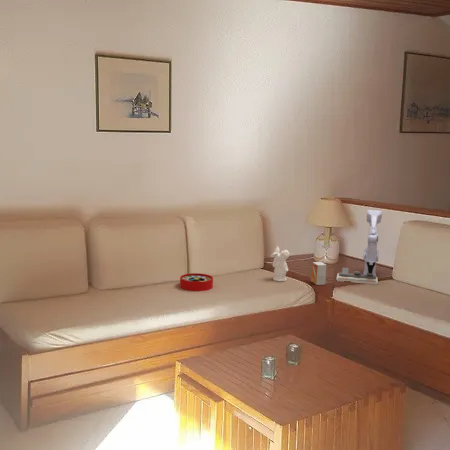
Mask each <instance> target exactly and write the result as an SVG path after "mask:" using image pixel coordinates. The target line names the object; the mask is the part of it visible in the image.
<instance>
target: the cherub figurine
mask: <svg viewBox="0 0 450 450" xmlns="http://www.w3.org/2000/svg"><path fill="white" fill-rule="evenodd" d="M290 255H291V254H290V252H289V250H287V249H284V250H282V251H281V252H280V247H279V246H278V245H277V244H276V245H275V248H274V251H273V253H271V254H270V257H271V258H273V262H272V267H273V268H274V269H273V273H274V277H273V278H272V280H273V281H275V282H287V279H288V278H286V274H287V272H289V267H288V264H287V261H286V260H287V259H288V258H289V257H290Z"/></svg>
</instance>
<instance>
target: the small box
mask: <svg viewBox="0 0 450 450" xmlns="http://www.w3.org/2000/svg"><path fill="white" fill-rule="evenodd" d="M326 278H327V264H326V263H324V262H322V261H313V262H312V264H311V278H310V282H311V283H313V284H315V286H321V285H322V286H323V285H326Z"/></svg>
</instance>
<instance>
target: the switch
mask: <svg viewBox="0 0 450 450" xmlns="http://www.w3.org/2000/svg"><path fill="white" fill-rule="evenodd" d="M341 273H342V275H347V276H348V273H349V267H342V268H341Z"/></svg>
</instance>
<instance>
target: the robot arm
mask: <svg viewBox="0 0 450 450" xmlns="http://www.w3.org/2000/svg"><path fill="white" fill-rule="evenodd" d="M382 215H383V211H382V210H381V209H379V210H377V209H376V210H375V209H367V210H366V222H367V223H368V224H369V228H368V235H367V247H366V248H365V249H364V250H363V257H362V258H363V261H364V270H363V273H362V274H363V275H367V272H368V273H373V275H374V276H376V277H377V275H376V268H377V267H376V266H377V263H378V262H379V250H378V244H379V228H378V224H380V223H381V222H382Z"/></svg>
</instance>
